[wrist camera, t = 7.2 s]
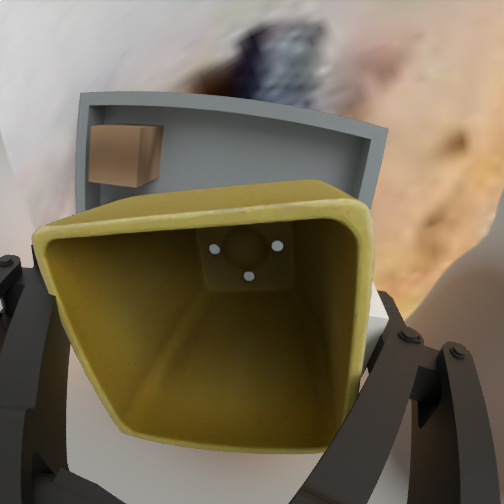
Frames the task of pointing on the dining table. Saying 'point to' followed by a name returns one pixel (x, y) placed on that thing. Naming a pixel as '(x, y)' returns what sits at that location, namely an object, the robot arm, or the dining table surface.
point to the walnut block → (125, 154)
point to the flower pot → (219, 312)
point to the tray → (231, 145)
